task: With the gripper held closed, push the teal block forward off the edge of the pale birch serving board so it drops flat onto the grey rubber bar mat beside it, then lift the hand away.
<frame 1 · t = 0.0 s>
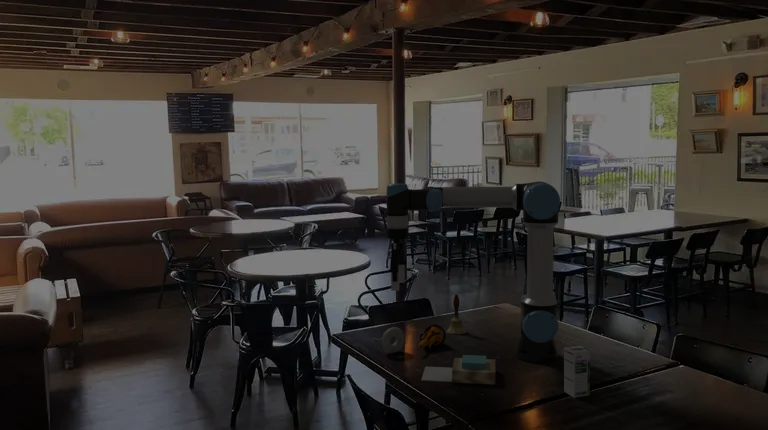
hand: (398, 286, 226), 28 cm above the table, tool pointing down, fingers open, 13 cm apart
serving board: (474, 376, 213), on the table
fried shrimp in bowl: (429, 349, 244), on the table
donut: (393, 353, 239), on the table
hand bell: (456, 332, 266), on the table
bar mat: (438, 374, 216), on the table
teal block: (474, 364, 213), point 4 cm above the table, touching serving board
syrup box: (576, 394, 197), on the table
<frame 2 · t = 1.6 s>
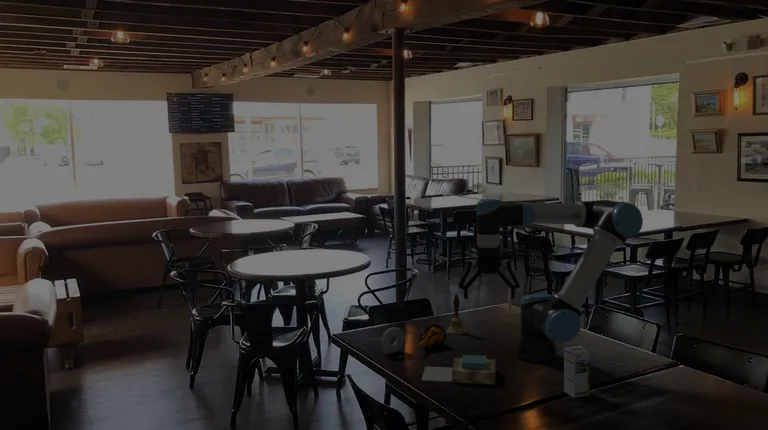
hand: (489, 308, 212), 23 cm above the table, tool pointing down, fingers open, 13 cm apart
nothing on the table moved.
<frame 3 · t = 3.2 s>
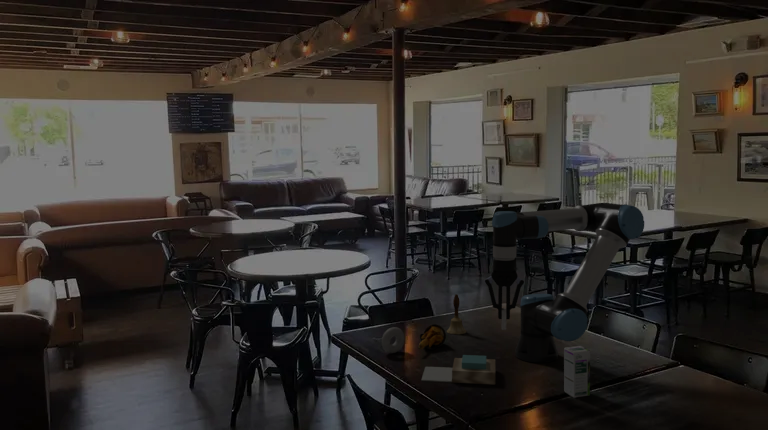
hand: (503, 328, 210), 17 cm above the table, tool pointing down, fingers closed
nothing on the table moved.
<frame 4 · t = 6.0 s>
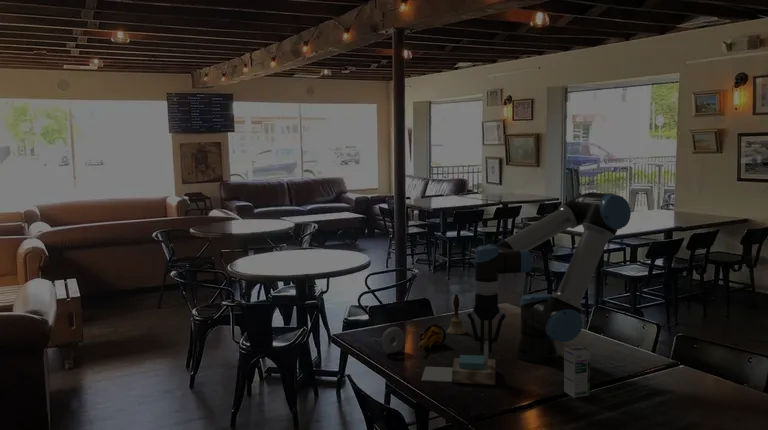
hand: (486, 361, 212), 5 cm above the table, tool pointing down, fingers closed
nothing on the table moved.
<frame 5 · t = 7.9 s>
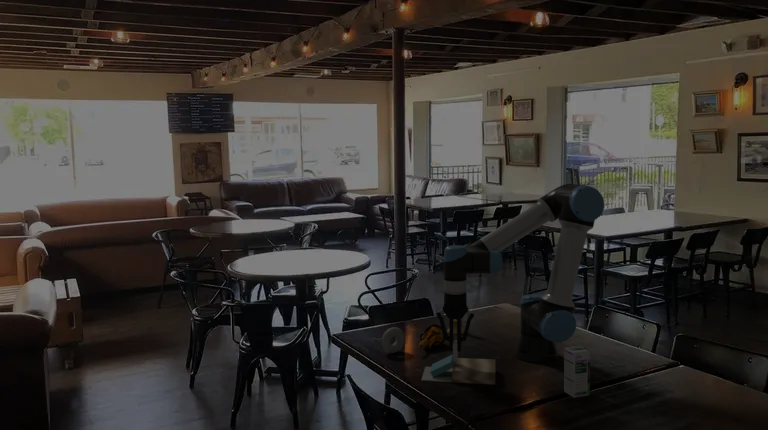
hand: (455, 360, 214), 5 cm above the table, tool pointing down, fingers closed
teal block: (444, 368, 215), point 2 cm above the table, tilted 29°, touching bar mat, gripper
everything else where it was.
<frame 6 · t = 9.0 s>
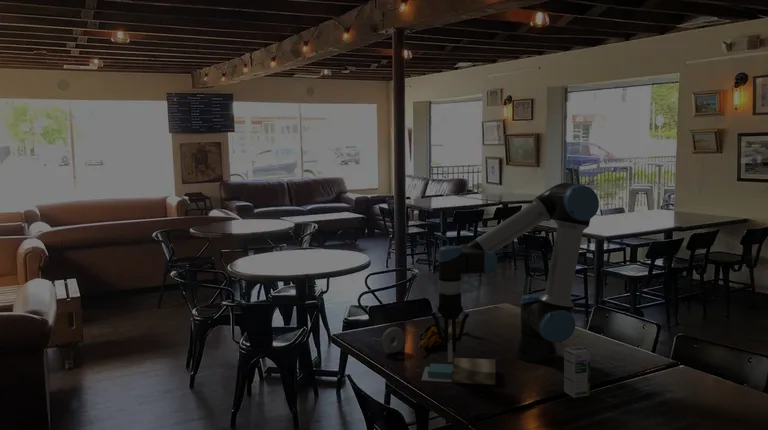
hand: (450, 360, 214), 5 cm above the table, tool pointing down, fingers closed
teal block: (440, 373, 215), resting on bar mat
everything else where it was.
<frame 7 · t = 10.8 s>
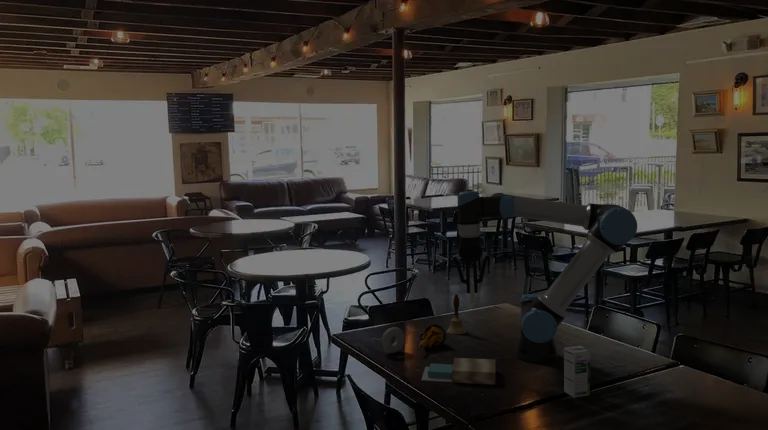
hand: (472, 302, 222), 23 cm above the table, tool pointing down, fingers closed
nothing on the table moved.
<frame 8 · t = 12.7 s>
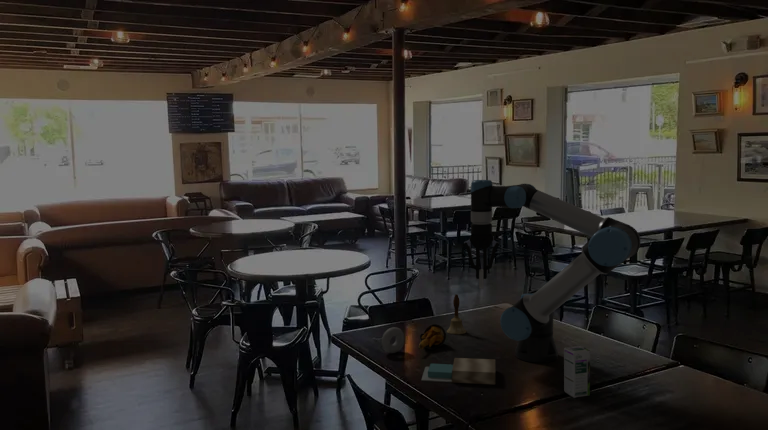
hand: (481, 287, 229), 26 cm above the table, tool pointing down, fingers closed
nothing on the table moved.
at the end: teal block inside the target area (1.3 cm from its centre), resting on bar mat; teal block touching bar mat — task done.
